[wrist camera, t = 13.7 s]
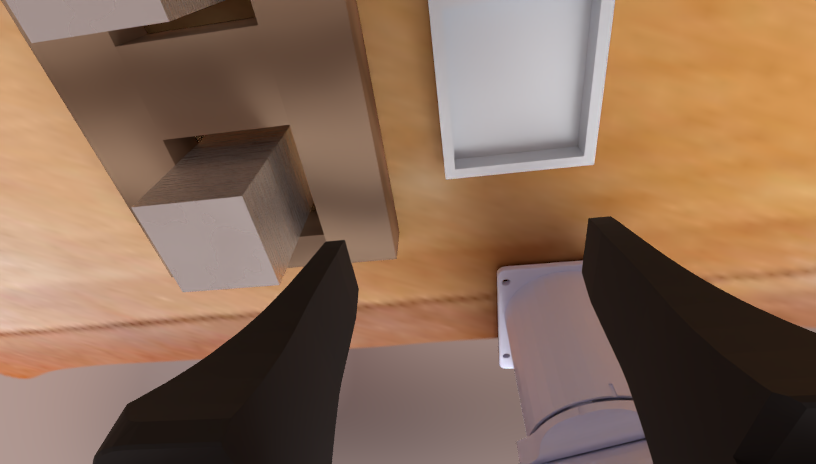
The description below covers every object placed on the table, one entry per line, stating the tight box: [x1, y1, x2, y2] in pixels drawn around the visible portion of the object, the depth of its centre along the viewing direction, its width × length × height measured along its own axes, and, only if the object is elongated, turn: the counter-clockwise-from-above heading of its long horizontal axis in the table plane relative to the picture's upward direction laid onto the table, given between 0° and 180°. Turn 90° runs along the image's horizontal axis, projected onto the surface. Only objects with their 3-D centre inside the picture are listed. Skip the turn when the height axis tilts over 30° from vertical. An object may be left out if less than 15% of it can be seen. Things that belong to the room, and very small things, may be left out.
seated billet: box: [131, 125, 314, 292], centre depth 20 cm, size 4×4×7 cm
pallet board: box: [1, 0, 399, 277], centre depth 19 cm, size 20×13×2 cm, turn 8°
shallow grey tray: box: [428, 0, 615, 180], centre depth 19 cm, size 8×7×2 cm
